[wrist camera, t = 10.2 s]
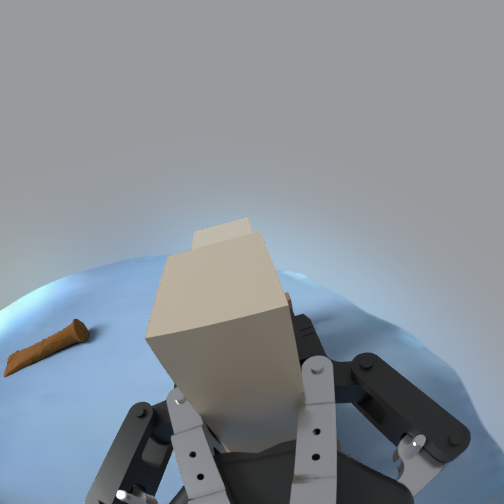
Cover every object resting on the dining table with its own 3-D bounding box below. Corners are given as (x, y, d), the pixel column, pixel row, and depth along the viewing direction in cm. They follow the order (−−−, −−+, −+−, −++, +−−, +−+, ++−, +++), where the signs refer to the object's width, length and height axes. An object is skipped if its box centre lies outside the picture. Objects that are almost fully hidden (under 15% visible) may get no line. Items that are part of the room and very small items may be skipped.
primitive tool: (5, 379, 26) (-9, 364, 24) (11, 358, 31) (-1, 343, 29) (90, 346, 31) (77, 327, 30) (92, 323, 36) (80, 305, 34)
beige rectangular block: (248, 469, 12) (144, 338, 7) (239, 406, 17) (168, 256, 11) (315, 455, 12) (288, 305, 7) (296, 393, 17) (260, 231, 11)
